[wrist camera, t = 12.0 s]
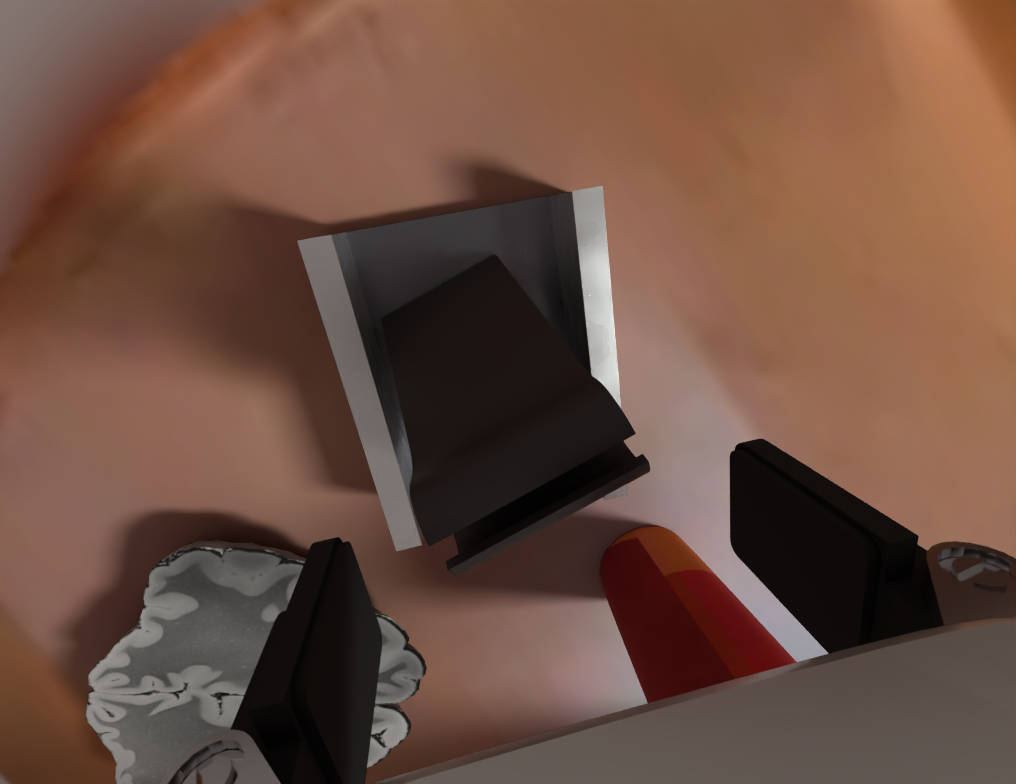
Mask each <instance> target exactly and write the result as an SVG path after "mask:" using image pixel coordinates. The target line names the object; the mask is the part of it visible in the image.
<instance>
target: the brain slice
mask: <svg viewBox="0 0 1016 784" xmlns="http://www.w3.org/2000/svg"><path fill="white" fill-rule="evenodd" d="M305 560H306V558H303V557H300V556H297V555H295V554H293V553H291V552H289V551H285V550H281V549H277V548H272V547H264V546H261V545H258V544H255V543H252V542H249V543H230V542H224V541H220V540H211V541H210V540H206V541H205V540H204V541H200V542H195V543H192V544H188V545H185V546H182V547H180V548H179V549H177V550H176V551H174V552H172V553H171V554H169V555H168V556H167V557H165V558H164V559H162V560H161V561H160V562H159V563H158V564H157V565H156V566H154V568H153V569H152V571H151V572H150V574H149V583H148V585H147V587H146V588H145V592H144V597H143V599H144V607H143V610H142V613H141V616H140V619H139V622H138V624H136V625H135V626H134V627H133V628H131V629H130V630H129V631H128V632H127V633H126V634H125V635H124V636H123V637H121V638H120V640H119V641H118V642H117V643H116V644H115V645H114V646H113V647H112V649H111V650H110V651H109V652H108V653H107V655H106V656H105V657H103V658H102V659H101V660H100V661H99V662H98V663H97V664H96V666H95V667H94V668H93V669H92V671H91V672H90V673H89V675H88V682H89V686H92V687H93V690H91V691H90V692H89V693H88V703H87V710H86V720H87V722H88V723H89V724H90V726H91V727H92V728H93V729H94V730H95V731H96V732H97V734H98V736H99V738H100V740H101V741H102V742H103V744H104V745H105V747H106V748H107V749H108V750H110V751H111V753H112V755H113V757H114V759H115V762H116V764H117V765H116V770H115V777H114V778H115V780H116V783H117V784H160V782H161V780H162V779H163V777H164V776H165V775H166V774H167V772H168V771H169V770H170V769H171V767H172V766H173V765H174V764H175V763H176V762H177V761H178V760H179V759H180V758H181V757H182V756H183V755H184V754H185V753H186V752H188V751H189V750H190V749H191V748H193V747H194V746H195V745H197V744H198V743H200V742H201V741H203V740H204V739H206V738H208V737H210V736H213V735H215V734H217V733H219V732H223V731H229V730H230V729H231V726H232V724H233V722H234V719H235V717H236V714H237V712H238V709H239V707H240V704H241V702H242V700H243V697H244V695H245V692H246V690H247V687H248V685H249V682H250V680H251V678H252V675H253V673H254V670H255V668H256V665H257V663H258V660H259V658H260V656H261V653H262V651H263V648H264V646H265V643H266V641H267V638H268V636H269V634H270V631H271V629H272V626H273V624H274V621H275V619H276V618H277V616H278V614H280V613H281V612H282V611H286V609H287V606H288V604H289V601H290V599H291V596H292V593H293V591H294V588H295V586H296V583H297V581H298V578H299V576H300V573H301V570H302V568H303V565H304V563H305ZM370 600H371V599H370ZM371 602H372V601H371ZM372 605H373V603H372ZM373 608H374V607H373ZM374 611H375V614H376V617H377V620H378V623H379V625H380V629H381V633H382V652H381V660H380V668H379V676H378V684H377V692H376V700H375V708H374V716H373V724H372V732H371V740H370V748H369V756H368V764H367V767H371V766H374V765H375V764H377V763H378V762H380V761H381V760H382V759H384V758H385V757H386V756H387V755H388V754H389V753H390V751H391V749H392V748H394V747H396V746H397V745H399V744H400V743H401V742H402V741H403V740H404V739H405V738H406V736H407V735H408V734H409V732H410V729H411V723H410V720H409V719H408V717H407V716H406V715H405V713H404V712H403V710H402V709H401V708H400V706H399V705H398V704H396V703H399V702H402V701H404V700H407V699H408V698H410V697H412V696H413V695H415V693H416V692H417V690H419V685H420V679H421V678H422V677H423V676H424V675H425V673H426V669H427V668H426V664H425V661H424V659H423V657H422V656H421V654H420V653H419V652H418V651H417V650H416V649H415V648H414V647H413V646H412V645H410V644H409V643H408V641H409V637H408V635H407V633H406V631H405V630H404V629H403V628H402V627H401V626H400V625H399V624H398V623H396V622H395V621H394V620H393V619H391V618H390V617H389V616H387V615H384V614H382V613H381V612H380V611H378V610H377V609H375V608H374Z"/></svg>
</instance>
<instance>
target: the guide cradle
mask: <svg viewBox="0 0 1016 784" xmlns="http://www.w3.org/2000/svg"><path fill="white" fill-rule="evenodd" d="M297 242H298V245H299V248H300V252H301V255H302V258H303V261H304V264H305V267H306V270H307V274H308V277H309V280H310V283H311V286H312V289H313V292H314V295H315V299H316V302H317V305H318V308H319V311H320V314H321V317H322V320H323V324H324V327H325V330H326V333H327V336H328V339H329V342H330V345H331V349H332V352H333V355H334V358H335V361H336V364H337V367H338V371H339V374H340V377H341V380H342V383H343V386H344V389H345V392H346V396H347V399H348V402H349V405H350V408H351V411H352V414H353V417H354V421H355V424H356V427H357V430H358V433H359V436H360V439H361V443H362V446H363V449H364V452H365V455H366V458H367V461H368V464H369V468H370V471H371V474H372V477H373V480H374V483H375V486H376V489H377V493H378V496H379V499H380V502H381V505H382V508H383V511H384V514H385V518H386V521H387V524H388V527H389V530H390V533H391V536H392V540H393V543H394V546H395V549H396V551H400V550H404V549H408V548H412V547H417V546H421V545H422V531H421V529H420V527H419V524H418V522H417V519H416V516H415V514H414V510H413V507H412V503H411V499H410V491H409V486H410V481H411V478H412V458H411V452H410V448H409V443H408V439H407V434H406V430H405V425H404V421H403V416H402V412H401V407H400V403H399V398H398V394H397V389H396V385H395V381H394V376H393V372H392V367H391V363H390V358H389V354H388V349H387V345H386V340H385V336H384V331H383V327H382V322H381V319H382V318H384V317H385V316H387V315H389V314H391V313H393V312H394V311H396V310H398V309H400V308H401V307H403V306H405V305H407V304H409V303H410V302H412V301H414V300H416V299H417V298H419V297H421V296H423V295H425V294H426V293H428V292H430V291H432V290H434V289H435V288H437V287H439V286H441V285H442V284H444V283H446V282H448V281H450V280H451V279H453V278H455V277H457V276H458V275H460V274H462V273H464V272H466V271H467V270H469V269H471V268H473V267H474V266H476V265H478V264H480V263H482V262H483V261H485V260H487V259H489V258H491V257H492V256H494V255H497V256H498V258H499V259H500V260H501V261H502V263H503V264H504V265H505V267H506V268H507V269H508V271H509V272H510V273H511V274H512V276H513V277H514V278H515V280H516V281H517V282H518V284H519V285H520V286H521V287H522V289H523V290H524V291H525V293H526V294H527V295H528V296H529V298H530V299H531V300H532V302H533V303H534V304H535V306H536V307H537V308H538V309H539V311H540V312H541V313H542V315H543V316H544V317H545V319H546V320H547V321H548V322H549V324H550V325H551V326H552V328H553V329H554V330H555V331H556V333H557V334H558V335H559V337H560V338H561V339H562V341H563V342H564V343H565V344H566V346H567V347H568V348H569V350H570V351H571V352H572V354H573V355H574V356H575V357H576V359H577V360H578V361H579V362H580V364H581V365H582V366H583V367H584V368H585V369H586V371H587V372H588V373H589V374H591V375H592V376H593V377H594V378H596V379H597V380H599V381H600V382H601V383H602V384H603V385H604V386H605V387H606V389H607V390H608V391H609V392H610V394H611V395H612V396H613V398H614V399H615V401H616V402H617V404H618V405H619V407H620V408H621V401H620V389H619V377H618V365H617V353H616V341H615V329H614V317H613V305H612V293H611V281H610V269H609V257H608V245H607V233H606V221H605V210H604V198H603V186H599V187H594V188H588V189H583V190H577V191H571V192H566V193H561V194H556V195H550V196H545V197H539V198H534V199H528V200H523V201H517V202H512V203H506V204H500V205H495V206H489V207H484V208H478V209H472V210H467V211H461V212H456V213H450V214H445V215H439V216H433V217H428V218H422V219H417V220H411V221H406V222H400V223H394V224H389V225H383V226H378V227H372V228H367V229H361V230H355V231H350V232H344V233H338V234H332V235H326V236H320V237H315V238H309V239H304V240H298V241H297ZM624 495H628V485H627V484H626V485H624V486H622V487H620V488H619V489H617V490H615V491H613V492H611V493H609V494H608V495H606V496H604V497H603V498H604V500H608V499H612V498H616V497H620V496H624Z"/></svg>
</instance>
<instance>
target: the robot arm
mask: <svg viewBox="0 0 1016 784" xmlns="http://www.w3.org/2000/svg"><path fill="white" fill-rule="evenodd" d="M730 540H731V545H732V548H733V550H734V552H735V554H736V555H737V556H738V557H739V558H740V559H741V560H742V561H743V563H744V564H745V565H746V566H747V567H748V568H749V569H750V570H751V571H752V572H753V573H754V574H755V575H756V576H757V577H758V579H759V580H760V581H761V582H762V583H763V584H764V585H765V586H766V587H767V588H768V589H769V590H770V591H771V592H772V593H773V595H774V596H775V597H776V598H777V599H778V600H779V601H780V602H781V603H782V604H783V605H784V606H785V607H786V608H787V609H788V611H789V612H790V613H791V614H792V615H793V616H794V617H795V618H796V619H797V620H798V621H799V622H800V623H801V624H802V625H803V627H804V628H805V629H806V630H807V631H808V632H809V633H810V634H811V635H812V636H813V637H814V638H815V639H816V640H817V641H818V643H819V644H820V645H821V646H822V647H823V648H824V649H825V650H826V651H827V652H828V653H829V654H826V655H823V656H819V657H815V658H811V659H808V660H804V661H800V662H797V663H793V664H789V665H786V666H782V667H778V668H775V669H771V670H767V671H764V672H760V673H756V674H753V675H749V676H745V677H742V678H738V679H734V680H731V681H727V682H723V683H720V684H716V685H713V686H709V687H705V688H702V689H698V690H695V691H691V692H687V693H684V694H680V695H677V696H673V697H669V698H666V699H662V700H658V701H655V702H651V703H648V704H644V705H641V706H637V707H633V708H630V709H626V710H623V711H619V712H616V713H612V714H608V715H605V716H601V717H598V718H594V719H591V720H587V721H583V722H580V723H576V724H573V725H569V726H566V727H562V728H559V729H555V730H552V731H548V732H545V733H541V734H538V735H534V736H531V737H527V738H524V739H520V740H517V741H513V742H510V743H506V744H503V745H499V746H496V747H492V748H489V749H485V750H482V751H478V752H475V753H471V754H468V755H464V756H461V757H457V758H454V759H451V760H447V761H444V762H441V763H438V764H434V765H431V766H428V767H425V768H421V769H418V770H415V771H411V772H408V773H405V774H402V775H398V776H395V777H392V778H388V779H385V780H382V781H379V782H375V783H372V784H1016V558H1014V557H1012V556H1010V555H1008V554H1006V553H1004V552H1001V551H998V550H995V549H993V548H990V547H987V546H982V545H978V544H973V543H967V542H956V541H953V542H942V543H939V544H936V545H933V546H932V547H931V548H930V549H929V550H928V551H927V550H925V549H923V548H922V547H920V546H919V545H917V543H918V535H916V534H914V533H913V532H911V531H910V530H908V529H907V528H905V527H903V526H902V525H900V524H899V523H897V522H895V521H894V520H892V519H891V518H889V517H887V516H886V515H884V514H883V513H881V512H879V511H878V510H876V509H875V508H873V507H871V506H870V505H868V504H867V503H865V502H863V501H862V500H860V499H859V498H857V497H855V496H854V495H852V494H851V493H849V492H847V491H846V490H844V489H843V488H841V487H839V486H838V485H836V484H835V483H833V482H832V481H830V480H828V479H827V478H825V477H824V476H822V475H820V474H819V473H817V472H816V471H814V470H812V469H811V468H809V467H808V466H806V465H804V464H803V463H801V462H800V461H798V460H796V459H795V458H793V457H792V456H790V455H788V454H787V453H785V452H784V451H782V450H780V449H779V448H777V447H776V446H774V445H772V444H771V443H769V442H768V441H766V440H764V439H756V440H752V441H747V442H743V443H739V444H737V445H736V447H735V451H732V452H731V454H730ZM381 652H382V633H381V629H380V625H379V623H378V620H377V617H376V614H375V611H374V608H373V605H372V602H371V600H370V597H369V594H368V591H367V588H366V585H365V582H364V580H363V577H362V574H361V571H360V568H359V565H358V562H357V560H356V557H355V554H354V551H353V548H352V546H351V544H350V542H348V541H347V542H342V540H341V539H340V538H339V537H337V538H332V539H328V540H324V541H319V542H315V543H313V544H312V545H311V547H310V550H309V553H308V555H307V558H306V560H305V563H304V565H303V568H302V570H301V573H300V576H299V578H298V581H297V583H296V586H295V588H294V591H293V593H292V596H291V599H290V601H289V604H288V606H287V609H286V611H282V612H281V613H280V614H278V616H277V618H276V619H275V621H274V624H273V626H272V629H271V631H270V634H269V636H268V638H267V641H266V643H265V646H264V648H263V651H262V653H261V656H260V658H259V660H258V663H257V665H256V668H255V670H254V673H253V675H252V678H251V680H250V682H249V685H248V687H247V690H246V692H245V695H244V697H243V700H242V702H241V704H240V707H239V709H238V712H237V714H236V717H235V719H234V722H233V724H232V726H231V729H230V730H229V731H223V732H219V733H217V734H215V735H213V736H210V737H208V738H206V739H204V740H203V741H201V742H200V743H198V744H197V745H195V746H194V747H193V748H191V749H190V750H189V751H188V752H186V753H185V754H184V755H183V756H182V757H181V758H180V759H179V760H178V761H177V762H176V763H175V764H174V765H173V766H172V767H171V769H170V770H169V771H168V772H167V774H166V775H165V776H164V777H163V779H162V780H161V782H160V784H365V780H366V772H367V764H368V756H369V748H370V740H371V732H372V724H373V716H374V708H375V700H376V692H377V684H378V676H379V668H380V660H381Z"/></svg>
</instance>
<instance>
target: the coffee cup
mask: <svg viewBox="0 0 1016 784" xmlns="http://www.w3.org/2000/svg"><path fill="white" fill-rule="evenodd" d="M600 579H601V583H602V586H603V589H604V592H605V595H606V598H607V600H608V603H609V606H610V608H611V611H612V613H613V616H614V619H615V621H616V624H617V626H618V629H619V631H620V634H621V636H622V639H623V642H624V644H625V647H626V649H627V652H628V654H629V657H630V659H631V662H632V664H633V667H634V669H635V672H636V674H637V677H638V679H639V682H640V684H641V687H642V689H643V692H644V694H645V697H646V699H647V702H648V703H651V702H655V701H658V700H662V699H666V698H669V697H673V696H677V695H680V694H684V693H687V692H691V691H695V690H698V689H702V688H705V687H709V686H713V685H716V684H720V683H723V682H727V681H731V680H734V679H738V678H742V677H745V676H749V675H753V674H756V673H760V672H764V671H767V670H771V669H775V668H778V667H782V666H786V665H789V664H793V663H797V662H796V661H795V660H794V659H793V658H792V657H791V656H790V654H789V653H788V652H787V651H786V650H785V649H784V648H783V647H782V646H781V645H780V644H779V643H778V641H777V640H776V639H775V638H774V637H773V636H772V635H771V634H770V633H769V632H768V631H767V630H766V628H765V627H764V626H763V625H762V624H761V623H760V622H759V621H758V620H757V619H756V618H755V617H754V616H753V614H752V613H751V612H750V611H749V610H748V609H747V608H746V607H745V606H744V605H743V604H742V603H741V602H740V600H739V599H738V598H737V597H736V596H735V595H734V594H733V593H732V592H731V591H730V590H729V589H728V588H727V586H726V585H725V584H724V583H723V582H722V581H721V580H720V579H719V578H718V577H717V576H716V575H715V574H714V573H713V571H712V570H711V569H710V568H709V567H708V566H707V565H706V564H705V563H704V562H703V561H702V560H701V559H700V558H699V557H698V556H697V554H696V553H695V552H694V551H693V550H692V549H691V548H690V547H689V546H688V545H687V544H686V543H685V542H684V541H683V540H682V539H681V538H680V537H679V536H677V535H676V534H675V533H674V532H672V531H671V530H668V529H666V528H663V527H658V526H646V527H641V528H637V529H634V530H631V531H629V532H627V533H625V534H624V535H622V536H621V537H619V538H618V539H617V540H616V541H614V542H613V543H612V544H611V545H610V547H609V548H608V549H607V551H606V552H605V554H604V556H603V558H602V561H601V564H600Z"/></svg>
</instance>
